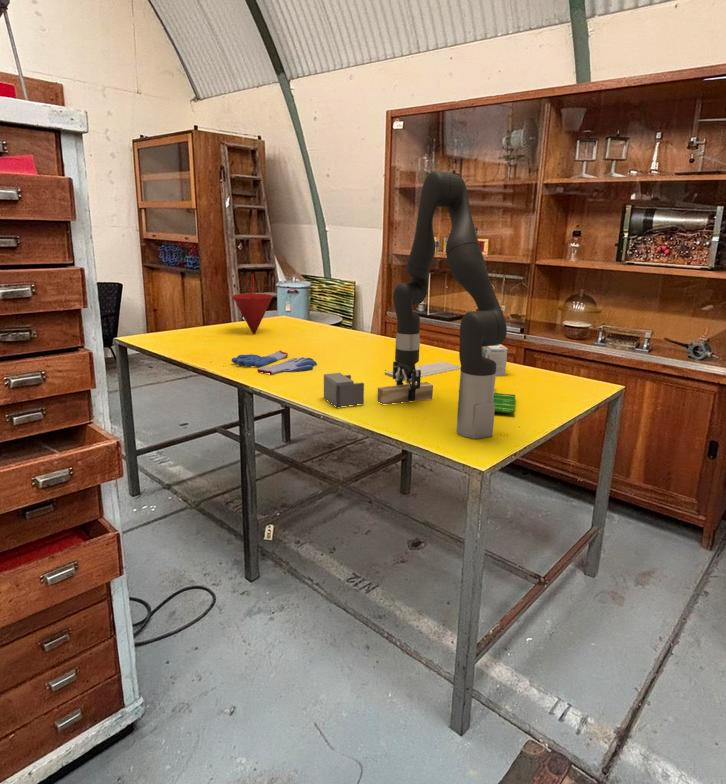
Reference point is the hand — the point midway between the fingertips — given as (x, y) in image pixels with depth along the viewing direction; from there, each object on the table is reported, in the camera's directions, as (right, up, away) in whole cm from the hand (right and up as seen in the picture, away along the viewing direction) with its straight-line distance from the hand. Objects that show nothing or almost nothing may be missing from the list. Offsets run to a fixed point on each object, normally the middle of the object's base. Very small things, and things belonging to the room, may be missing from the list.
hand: (405, 396), depth 184 cm
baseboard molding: (+10, +8, +36) cm, 38 cm away
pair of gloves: (-48, +12, +42) cm, 65 cm away
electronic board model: (+28, -1, +2) cm, 28 cm away
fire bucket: (-68, +30, +101) cm, 125 cm away
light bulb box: (+36, +9, +37) cm, 52 cm away
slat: (0, -1, 0) cm, 1 cm away
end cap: (-20, -1, -2) cm, 20 cm away
